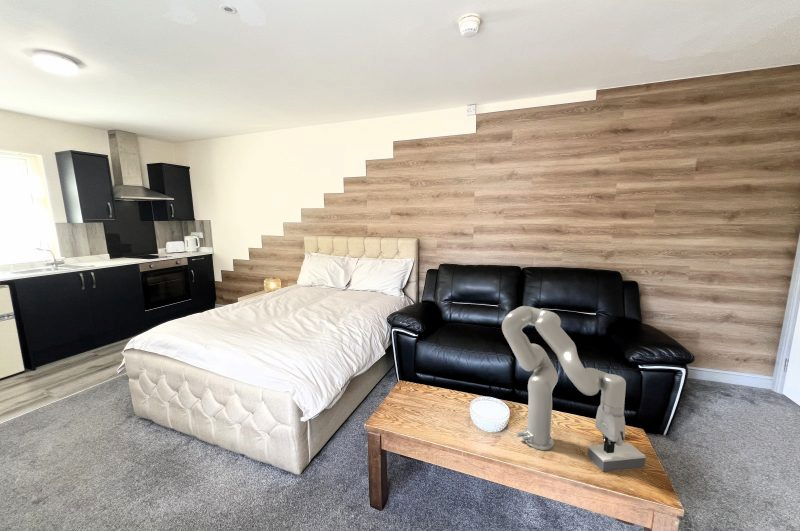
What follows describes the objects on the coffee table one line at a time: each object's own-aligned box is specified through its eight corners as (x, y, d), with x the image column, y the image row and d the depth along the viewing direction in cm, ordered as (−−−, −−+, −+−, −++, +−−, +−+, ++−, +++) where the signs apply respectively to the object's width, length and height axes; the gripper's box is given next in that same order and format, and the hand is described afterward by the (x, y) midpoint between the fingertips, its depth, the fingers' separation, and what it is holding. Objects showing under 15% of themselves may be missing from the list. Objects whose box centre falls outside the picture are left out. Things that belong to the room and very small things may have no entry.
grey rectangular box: (603, 471, 124) (603, 462, 124) (587, 456, 132) (588, 447, 132) (644, 467, 126) (645, 458, 126) (627, 452, 135) (627, 444, 134)
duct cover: (603, 461, 124) (603, 459, 124) (588, 447, 132) (588, 445, 132) (645, 457, 126) (645, 456, 126) (627, 444, 134) (628, 442, 134)
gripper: (589, 397, 130) (586, 440, 132) (618, 419, 115) (615, 466, 117) (606, 396, 131) (603, 438, 133) (637, 417, 116) (633, 464, 118)
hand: (608, 451), depth 125 cm, fingers closed
